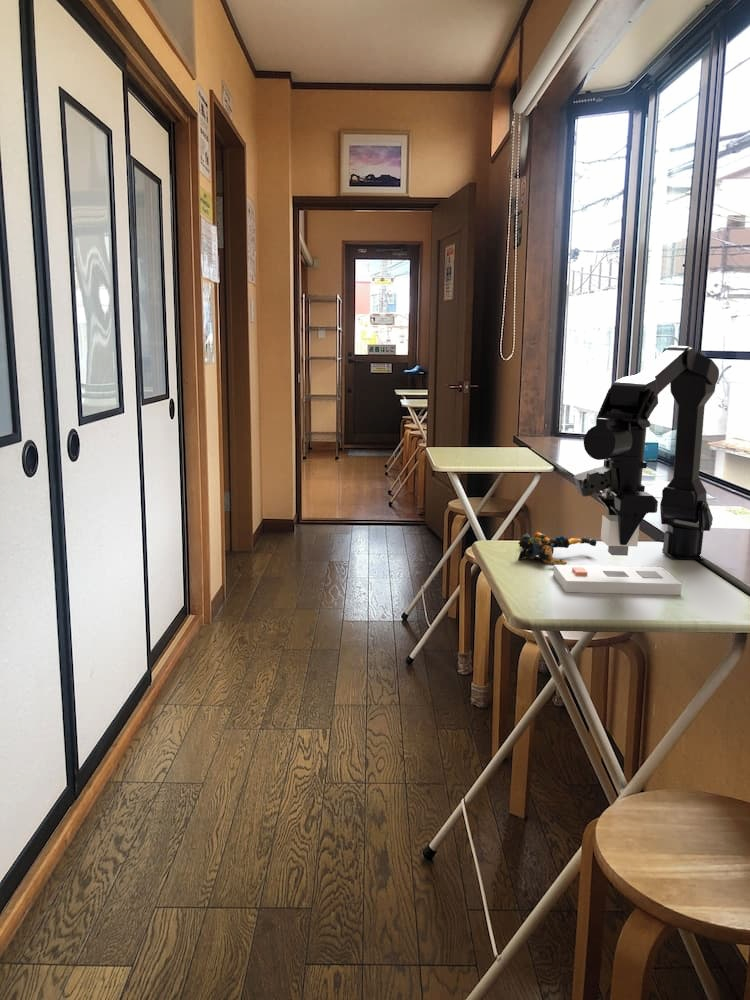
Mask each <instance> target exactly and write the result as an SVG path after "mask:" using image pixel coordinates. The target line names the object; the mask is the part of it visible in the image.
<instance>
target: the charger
mask: <svg viewBox="0 0 750 1000" xmlns="http://www.w3.org/2000/svg"><path fill="white" fill-rule="evenodd" d="M600 530H601V531H600V532H601V533H600V540H601V541H602V542H603V543H604V544H605V545H606V546H608V548H607V552H608V553H609V554H610V555H611V556H623V557H624V556H627V557H628V556H629V555H628V554H629V547H638V543H639V532H640V524H639V525H638V527H637V528H636V530H635V532H634V533H633V535H632V537H631V538H630V540H629V542H628V543H627V545H621V544H620V541H619V528H618V516H617V515H608V514H602V520H601V529H600Z"/></svg>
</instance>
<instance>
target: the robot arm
mask: <svg viewBox="0 0 750 1000" xmlns="http://www.w3.org/2000/svg"><path fill="white" fill-rule="evenodd" d="M719 369H720V368H719V367H718V366H717V364H716V363H715V362H714V360H713V359H711V358H709V357H707V356H705V355H704V354H701V353H699V352H697V351H696V349H694V348H693V347H691V346H688V345H687V346H685V345H669V346H665V347H664V348H663V350H662V352H661V354H659V356H658V357H656V358H655V359H654V360H652V361H651V362H650V363H649V364H648V365H647V366H645V368H643V369H642V370H641V371H640V372H639V373H637V374H635V375H628V376H623V377H622V378H619V379H618V380H616V381H614V382H612V384H611V386H610V388H608V391H607V393H606V395H605V398H604V399H603V402H602V404H601V406H600V408H599V411H598V413H597V415H596V420H595V421H596V422H595V426H592V427H590V428H589V429H588V430H587V432H586V434H585V436H584V437H583V447H584V451H585V452H586V453H587V455H588V456H589V457H590V458H592V459H594V460H597V461H602V460H603V466H600V467H597V468H596V467H594V468H592V469H590V470H586V471H582V472H580V473H577V474H575V475H573V479H574V482H575V486H576V489H577V493H578V494H580V495H581V496H582V497H590V496H592V495H593V494H600V492H601V495H597V496H596V497H597V498H598V501H599V500H600V502H601V503H602V504H603V505H604V506H605V509H606V513H607V515H617V516H618V528H619V541H620V544H621V545H627V543H628V542H629V540H630V538H631V537H632V535H633V533H634V532H635V530H636V528H637V527H638V525H639V526H640V525H641V522H642V521H643V519H644V518H645V516H646V515H647V514H650V513H651V514H656V513H658V506H659V507H660V509H659V510H660V523H661V524H660V525H667V530H666V531H664V536H663V546H662V548H661V549H662V550H661V551H662V552H663V553H664V554H666V555H667V556H668V557H670V558H671V559H673V560H674V559H676V560H702V559H701V557H700V556H699V555H700V554H701V555H702V548H703V539H704V532H709V531H711V528H712V525H713V519H714V518H713V515H712V512H711V509H710V506H709V503H708V502H707V497H708V495H707V494H708V493H707V490H706V488H705V486H704V483H702V480H701V479H700V468H701V457H702V455H701V454H702V444H703V442H702V441H703V432H704V430H703V429H704V420H705V419H704V416H705V406H706V404H707V403H708V401H709V400H710V398H711V397H712V396H713V394H714V393H715V392H716V391H715V390H716V386H717V384H718V381H719V377H720V370H719ZM669 385H670V393H671V396H672V397H673V399H674V401H675V403H676V404H677V418H676V435H675V446H674V447H675V448H674V462H673V463H674V464H673V474H672V476H673V477H672V479H671V480H670V482H669V483H668V484H667V485H666V486H664V487H663V489H662V493H661V496H662V497H661V500H660V502H659V501H658V500H657V499H656V498H655V496H653V495H652V494H650V493H649V492H648V491H645V488H646V485H644V484H642V479H643V470H644V469H647V467H648V466H647V465H648V462H646V461H645V460H644V458H645V447H646V436H647V428H650V427H651V422H650V420H648V419H649V418H650V416H651V414H652V413H653V412H654V409H655V408H656V407H657V406H658V404H659V398H658V397H659V396H658V395H660V393H661V392H662V391H663V390H664V389H665V388H666V387H667V386H669ZM659 503H660V505H659Z"/></svg>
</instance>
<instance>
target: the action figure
mask: <svg viewBox="0 0 750 1000" xmlns="http://www.w3.org/2000/svg"><path fill="white" fill-rule="evenodd" d="M578 543H579V544H588V545H590V546H591V547H596V546H597V540H596V539H595V538H590V537H587V538H585V537H580V538H576V537H575V538H574V537H572V538H570V539H569V538H568V537H565V536H564V535H562V534H561V535H560V536H557V537H555V539H550V538H549V537H548V536H547V535H546V534H543V533H541V532H539V531H536V532H535V533H534V537H531V535H530V534H529V533H527V532H526V533H525V534H523V535H522V537H521V538H520V539H519V541H518V543H517V544H518V545H519V548H522V550H520V552H519V556H518V559H517V560H518V561H522V560H523V559H524V558H523V557H525V558H526V559H532V560H533V559H535V558H536V557H539V559H540V560H542V561H543V562H544V563H546V564H548V565H568V562H567V560H564V559H557V558H556V559H555V558H553V554H554V551H555V548H556V549H557V548H560V549H561V548H563V549H564V548H565V549H568V548H569V547H570V546H571V545H576V544H578ZM522 558H523V559H522Z"/></svg>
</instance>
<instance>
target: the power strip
mask: <svg viewBox="0 0 750 1000" xmlns="http://www.w3.org/2000/svg"><path fill="white" fill-rule="evenodd" d="M552 572H553V577H554V578H555V579H556V581H557V583H559V585H560V587H562V589H563V590H564V592H565V593H588V594H589V593H591V594H592V593H593V594H595V593H596V594H628V595H630V594H631V595H633V594H635V595H662V596H663V595H664V596H665V595H669V596H674V595H675V596H681V595H682V582H680V581H679V580H678V579H677V578H675V576H673V575H672V574H671V573H669V572H668V571H667V570H666V569H665V568H663V567H661V566H655V567H654V566H624V565H623V566H621V565H619V566H617V565H587V564H586V565H585V564H583V565H579V564H574V565H573V564H566V565H555V564H553V571H552Z"/></svg>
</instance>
